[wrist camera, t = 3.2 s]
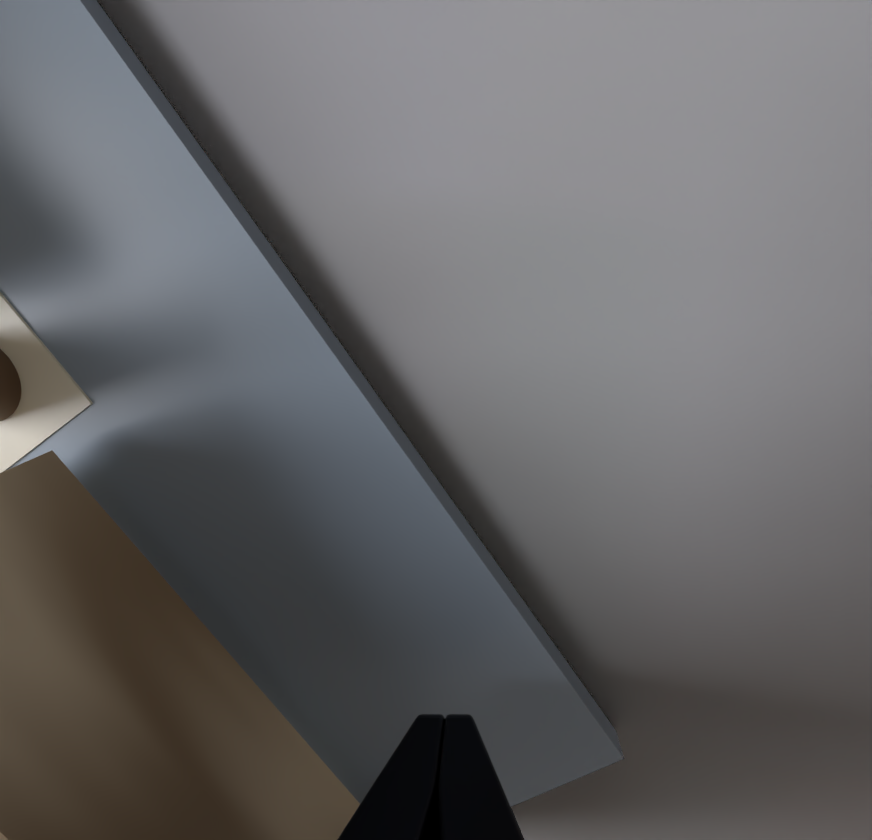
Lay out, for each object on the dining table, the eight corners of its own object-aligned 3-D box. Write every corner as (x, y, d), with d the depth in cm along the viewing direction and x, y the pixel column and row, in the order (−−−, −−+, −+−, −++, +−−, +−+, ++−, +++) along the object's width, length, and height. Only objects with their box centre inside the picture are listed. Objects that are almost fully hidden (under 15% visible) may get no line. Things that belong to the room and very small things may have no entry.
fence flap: (-8, 495, 8) (-535, 748, 4) (51, 449, 8) (-450, 669, 4) (356, 893, 10) (263, 1366, 6) (417, 869, 10) (366, 1345, 6)
